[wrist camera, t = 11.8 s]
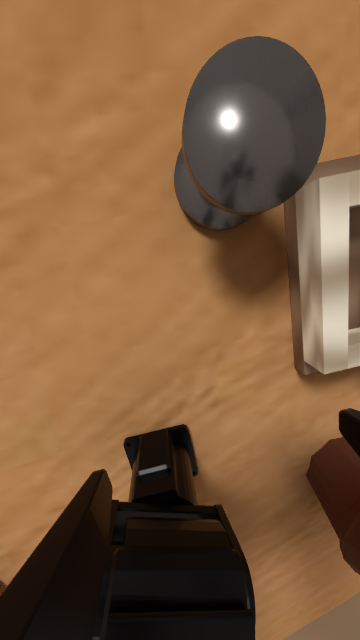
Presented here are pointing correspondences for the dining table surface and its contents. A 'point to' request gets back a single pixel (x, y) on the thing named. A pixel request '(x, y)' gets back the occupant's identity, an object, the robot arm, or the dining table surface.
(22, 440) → the dining table surface
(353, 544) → the muffin
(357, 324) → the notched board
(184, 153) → the bobbin
